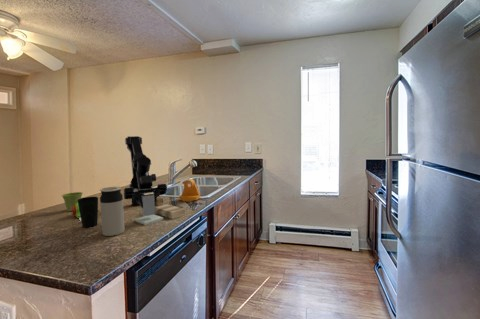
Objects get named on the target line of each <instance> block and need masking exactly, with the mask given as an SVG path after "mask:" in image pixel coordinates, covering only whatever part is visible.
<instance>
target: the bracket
mask: <svg viewBox="0 0 480 319" xmlns="http://www.w3.org/2000/svg"><path fill="white" fill-rule="evenodd" d="M200 198H201V194H200V192H199V189H198V186H197V185H196V181H195V180H194V179H192V178H190V179H188V180H185V181H184V183H183V190H182V192H181V194H180V195H179V197H178V201H183V202H193V201H198V200H199V199H200Z"/></svg>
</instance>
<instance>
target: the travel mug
mask: <svg viewBox="0 0 480 319" xmlns="http://www.w3.org/2000/svg"><path fill="white" fill-rule="evenodd" d="M121 190H122V187H121V186H108V187H104V188H100V189H99V191H100V197H99V204H100V216H101V217H100V218H101V230H102V232H101V233H102V235H103V236H105V237H115V236H118V235H121V234H123V233H124V232H125V230H126V228H125V212H124V200H123V199H124V195H123V194H122V192H121ZM114 235H115V236H114Z"/></svg>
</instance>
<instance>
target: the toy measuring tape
mask: <svg viewBox="0 0 480 319" xmlns="http://www.w3.org/2000/svg"><path fill="white" fill-rule="evenodd" d="M71 212H72V215H73V216H75V218H76V217H77V218H79V219H78V221H79V220H80V221H79V223H81V222H82V221H81V216H80V211H79V206H78V203H77V204H75V206H74V207H72V211H71ZM77 218H76V219H77ZM81 224H82V223H81Z"/></svg>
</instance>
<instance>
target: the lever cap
mask: <svg viewBox="0 0 480 319" xmlns="http://www.w3.org/2000/svg"><path fill="white" fill-rule="evenodd" d="M141 197H142V203H143V208H142V207H141V210H142V217H144V216H149V215H156V213H155V202H154V193H146V194H144V195H141Z"/></svg>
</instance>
